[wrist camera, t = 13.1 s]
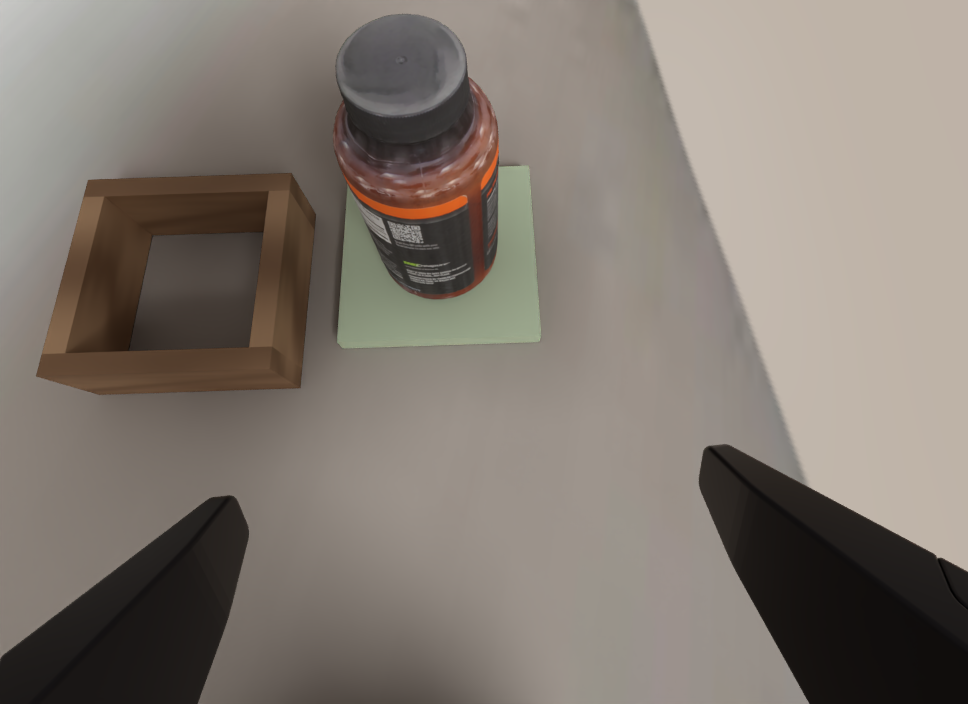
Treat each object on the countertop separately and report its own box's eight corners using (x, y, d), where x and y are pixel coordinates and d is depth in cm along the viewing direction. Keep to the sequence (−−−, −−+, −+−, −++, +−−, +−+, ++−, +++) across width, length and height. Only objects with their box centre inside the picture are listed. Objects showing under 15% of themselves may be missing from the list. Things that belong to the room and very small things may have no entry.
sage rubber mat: (539, 342, 25) (541, 335, 24) (342, 348, 25) (336, 342, 24) (527, 177, 28) (528, 165, 27) (353, 183, 28) (348, 171, 27)
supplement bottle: (475, 189, 26) (465, -34, 15) (514, 282, 24) (533, 105, 14) (369, 222, 26) (282, 15, 15) (401, 320, 24) (329, 165, 13)
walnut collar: (300, 388, 24) (269, 368, 21) (99, 394, 24) (36, 376, 21) (315, 214, 27) (291, 172, 24) (137, 220, 27) (88, 179, 24)
